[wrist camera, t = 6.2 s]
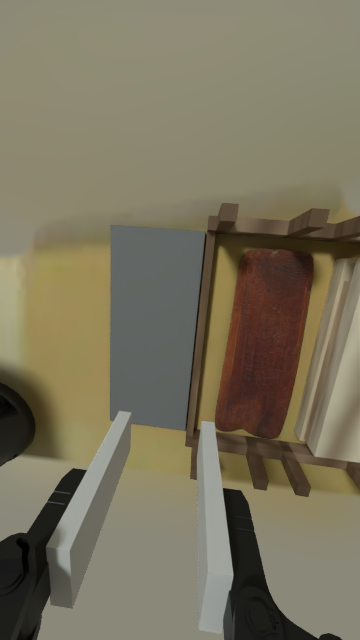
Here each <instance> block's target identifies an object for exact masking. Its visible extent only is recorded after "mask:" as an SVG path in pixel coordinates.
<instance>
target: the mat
mask: <svg viewBox="0 0 360 640" xmlns="http://www.w3.org/2000/svg"><path fill="white" fill-rule="evenodd" d="M204 239H205V232H204V231H190V230H176V229H162V228H147V227H133V226H119V225H111V333H110V420H111V421H114V420H115V418H116V416H117V414H118V412H119V411H124V412H132V413H131V423H132V424H140V425H147V426H154V427H161V428H169V429H176V430H183V431H185V427H186V417H187V407H188V397H189V387H190V377H191V367H192V358H193V348H194V338H195V328H196V318H197V308H198V299H199V289H200V279H201V269H202V259H203V249H204Z"/></svg>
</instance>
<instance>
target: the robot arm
mask: <svg viewBox="0 0 360 640" xmlns="http://www.w3.org/2000/svg"><path fill="white" fill-rule="evenodd" d="M131 413H132V412H124V411H119V412H118V414H117V416H116V418H115V420H114V422H113V423H112V425H111V427H110V429H109V431H108V433H107V435H106V436H105V438H104V440H103V442H102V444H101V446H100V448H99V449H98V451H97V453H96V455H95V457H94V459H93V461H92V462H91V464H90V466H89V468H88V470H82V469H75V468H73V469H72V470H71V471H69V472H68V473H67V474H66V475H65V476H64V477H63V478H62V479H61V481H60V482H59V484H58V486H57V487H56V488H55V490H54V493H52V495H51V496H50V498H49V499H48V502H47V503H46V504H45V506H44V507H43V509H42V510H41V512H40V514H39V515H38V517H37V518H36V520H35V521H34V523H33V525H32V526H31V528H30V529H29V531H28V532H27V533H18V534H14V535H11V536H9V537H7V538H6V539H4V540H3V541H1V542H0V640H37V636H38V633H39V630H40V625H41V618H42V615H41V614H42V611H43V609H44V607H45V605H46V602H47V600H48V598H49V596H50V602H51V605H55V606H61V607H66V608H73V606H74V603H75V600H76V597H77V594H78V592H79V589H80V586H81V584H82V581H83V578H84V575H85V572H86V570H87V567H88V564H89V561H90V558H91V556H92V553H93V550H94V548H95V545H96V542H97V539H98V537H99V534H100V531H101V528H102V525H103V523H104V520H105V517H106V514H107V512H108V509H109V506H110V503H111V501H112V498H113V495H114V492H115V490H116V487H117V484H118V481H119V479H120V476H121V473H122V471H123V468H124V465H125V462H126V459H127V457H128V454H129V451H130V439H131ZM34 435H35V421H34V417H33V414H32V412H31V410H30V408H29V406H28V405H27V403H26V402H25V400H24V399H23V398H22V397H21V396H20V395H19V394H18V393H17V392H15V391H14V390H13V389H11V388H10V387H8V386H6V385H4V384H2V383H0V466H2V465H3V464H5V463H6V462H8V461H10V460H12V459H14V458H16V457H17V456H19V455H20V454H21V453H22V452H24V451H25V449H26V448H27V447H28V446H29V445H30V444H31V442H32V441H33V438H34ZM251 518H252V517H251V513H250V509H249V504H248V502H247V500H246V499H245V497H244V495H243V493H242V492H241V491H240V490H233V489H226V488H222V480H221V472H220V464H219V456H218V448H217V440H216V432H215V424H214V422H206V421H202V422H201V429H200V437H199V445H198V453H197V534H198V535H197V537H198V538H197V539H198V630H203V631H208V632H214V633H220V634H221V633H222V629H223V628H224V640H342V639H341V638H340V637H338V636H335V635H333V634H330V633H327V634H323V635H321V636H320V638H319V639H318V638H316V637H314V636H313V635H311V634H309V633H308V632H306V631H305V630H303V629H302V628H300V627H299V626H297V625H296V624H294V623H293V622H291V621H290V620H289V619H288V618H286V616H285V615H284V614H283V613H282V612H281V611H280V610H279V609H278V607H277V605H276V604H275V602H274V601H273V599H272V596H271V594H270V592H269V589H268V586H267V583H266V579H265V575H264V570H263V566H262V561H261V557H260V553H259V548H258V544H257V539H256V535H255V533H254V526H253V522H252V520H251Z"/></svg>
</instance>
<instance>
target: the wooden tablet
mask: <svg viewBox="0 0 360 640" xmlns="http://www.w3.org/2000/svg"><path fill="white" fill-rule="evenodd" d="M313 266H314V264H313V257H312V255H311V254H308V253H303V252H293V251H288V250H281V249H277V250H276V251H273V250H271V249H264V248H263V249H255V250H254V249H252V250H248V251H247V252H246V253H245V255H244V257H243V259H242V262H241V265H240V269H239V272H238V277H237V283H236V289H235V296H234V303H233V310H232V316H231V323H230V330H229V336H228V342H227V348H226V353H225V359H224V365H223V370H222V377H221V383H220V390H219V395H218V400H217V407H216V414H215V425H216V428H217V429H218V430H221V431H232V430H235V429H244V430H245V431H247V432H248V433H250V434H252V435H254V436H258V437H262V438H267V439H273V438H277V437H278V435H279V434H280V432H281V429H282V426H283V423H284V420H285V417H286V414H287V410H288V406H289V402H290V398H291V394H292V390H293V385H294V381H295V376H296V372H297V367H298V361H299V356H300V350H301V344H302V339H303V333H304V327H305V321H306V315H307V311H308V304H309V299H310V289H311V286H312V278H313Z"/></svg>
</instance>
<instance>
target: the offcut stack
mask: <svg viewBox="0 0 360 640" xmlns="http://www.w3.org/2000/svg"><path fill="white" fill-rule="evenodd" d="M294 432H295V434H296V436H297V437H298V439H299V441H305V442H306V443H307V445H308V447H309V448H310V450H311V452H312V453H313V455H314V456H315V457H322V458H329V459H336V460H343V461H350V462H357V463H360V257H357V259H348V258H343V259H336V261H335V265H334V269H333V273H332V277H331V282H330V286H329V290H328V294H327V298H326V302H325V306H324V310H323V314H322V319H321V323H320V327H319V331H318V335H317V339H316V343H315V347H314V351H313V355H312V360H311V364H310V368H309V372H308V376H307V380H306V384H305V388H304V392H303V397H302V401H301V405H300V409H299V413H298V417H297V421H296V425H295V429H294Z"/></svg>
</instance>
